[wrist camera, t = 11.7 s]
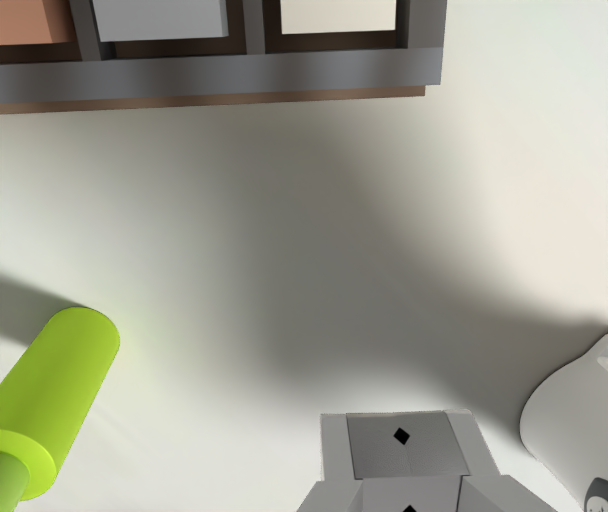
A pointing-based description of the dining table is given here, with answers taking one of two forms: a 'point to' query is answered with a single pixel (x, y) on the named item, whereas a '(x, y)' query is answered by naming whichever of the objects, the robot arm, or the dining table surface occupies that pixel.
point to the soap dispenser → (50, 400)
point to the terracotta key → (35, 22)
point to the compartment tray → (225, 63)
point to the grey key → (160, 19)
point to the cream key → (336, 15)
